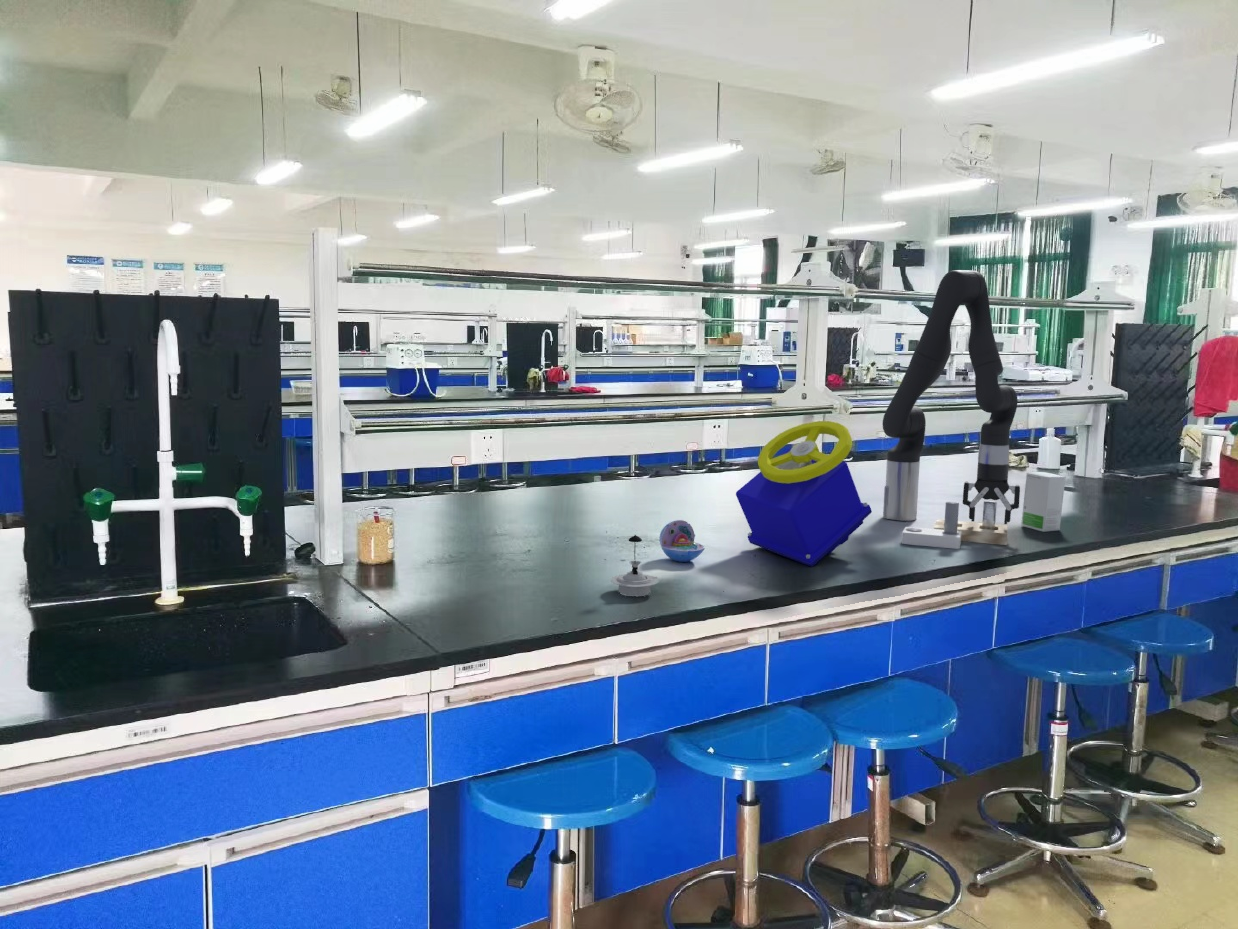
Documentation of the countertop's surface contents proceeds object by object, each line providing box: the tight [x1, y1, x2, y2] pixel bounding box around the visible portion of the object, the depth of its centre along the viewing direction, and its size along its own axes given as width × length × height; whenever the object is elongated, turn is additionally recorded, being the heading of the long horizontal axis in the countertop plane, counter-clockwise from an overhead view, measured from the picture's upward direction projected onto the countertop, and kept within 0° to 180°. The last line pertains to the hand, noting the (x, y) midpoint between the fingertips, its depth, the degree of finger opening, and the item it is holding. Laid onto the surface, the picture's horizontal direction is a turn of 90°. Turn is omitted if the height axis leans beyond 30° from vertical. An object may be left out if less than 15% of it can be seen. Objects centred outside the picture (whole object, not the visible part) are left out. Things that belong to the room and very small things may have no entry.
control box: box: [735, 420, 873, 568], centre depth 217 cm, size 26×27×30 cm
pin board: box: [933, 519, 1008, 546], centre depth 242 cm, size 18×12×3 cm, turn 67°
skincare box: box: [1020, 471, 1066, 533], centre depth 253 cm, size 8×7×16 cm
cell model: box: [658, 519, 705, 563], centre depth 213 cm, size 10×12×10 cm
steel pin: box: [981, 500, 998, 530], centre depth 240 cm, size 3×3×10 cm
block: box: [901, 501, 962, 550], centre depth 234 cm, size 14×8×11 cm, turn 67°
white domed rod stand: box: [610, 534, 660, 595], centre depth 186 cm, size 12×10×10 cm
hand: (989, 522), depth 240 cm, fingers open, 7 cm apart
